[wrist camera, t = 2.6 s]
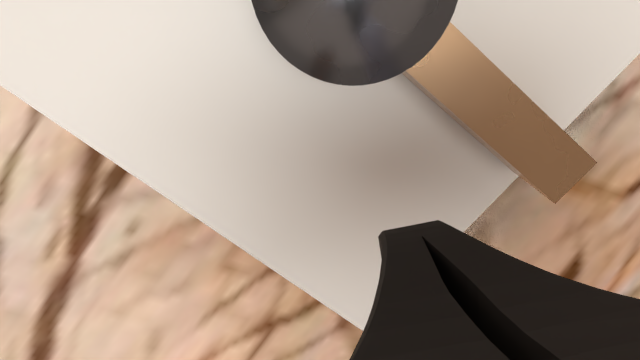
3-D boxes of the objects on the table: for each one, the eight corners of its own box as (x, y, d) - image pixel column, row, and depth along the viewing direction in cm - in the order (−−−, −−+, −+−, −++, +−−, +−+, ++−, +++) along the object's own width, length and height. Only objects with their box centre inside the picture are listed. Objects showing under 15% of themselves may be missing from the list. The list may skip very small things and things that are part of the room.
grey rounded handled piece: (221, -7, 15) (203, -8, 12) (330, -157, 14) (345, -205, 10) (476, 206, 18) (519, 253, 14) (583, 96, 17) (656, 121, 13)
